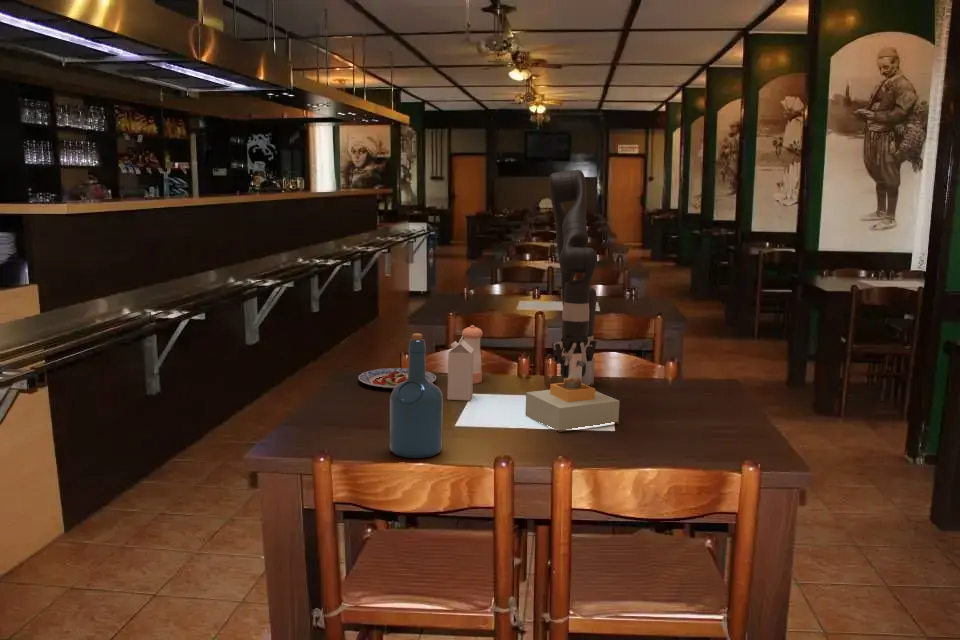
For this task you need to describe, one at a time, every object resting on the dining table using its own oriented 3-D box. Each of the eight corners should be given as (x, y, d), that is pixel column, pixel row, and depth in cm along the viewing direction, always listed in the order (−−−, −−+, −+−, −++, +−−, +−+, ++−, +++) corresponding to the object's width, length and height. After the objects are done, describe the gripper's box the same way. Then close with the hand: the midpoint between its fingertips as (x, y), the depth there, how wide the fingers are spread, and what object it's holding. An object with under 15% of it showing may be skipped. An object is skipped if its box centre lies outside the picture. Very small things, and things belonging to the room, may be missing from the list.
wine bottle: (401, 440, 217) (402, 327, 212) (449, 446, 214) (451, 331, 209) (380, 456, 204) (380, 337, 199) (431, 463, 201) (432, 341, 196)
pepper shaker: (471, 377, 287) (473, 322, 284) (486, 381, 282) (487, 325, 279) (456, 380, 283) (457, 324, 279) (470, 384, 277) (471, 328, 274)
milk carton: (472, 395, 264) (474, 336, 261) (470, 401, 257) (471, 340, 254) (450, 394, 265) (451, 335, 261) (447, 400, 258) (448, 339, 254)
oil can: (560, 385, 239) (561, 351, 237) (574, 383, 241) (576, 350, 240) (574, 391, 233) (576, 356, 231) (589, 389, 235) (590, 355, 233)
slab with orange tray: (580, 407, 253) (582, 375, 251) (618, 424, 237) (620, 390, 235) (523, 414, 244) (525, 381, 242) (558, 432, 227) (560, 397, 226)
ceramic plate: (385, 370, 295) (385, 362, 294) (449, 380, 283) (450, 371, 283) (342, 386, 272) (342, 377, 271) (410, 397, 261) (410, 388, 260)
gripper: (589, 314, 241) (586, 371, 244) (546, 317, 235) (544, 376, 238) (604, 318, 235) (601, 377, 238) (561, 321, 228) (558, 382, 231)
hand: (572, 376), depth 238 cm, fingers closed on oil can, 5 cm apart
